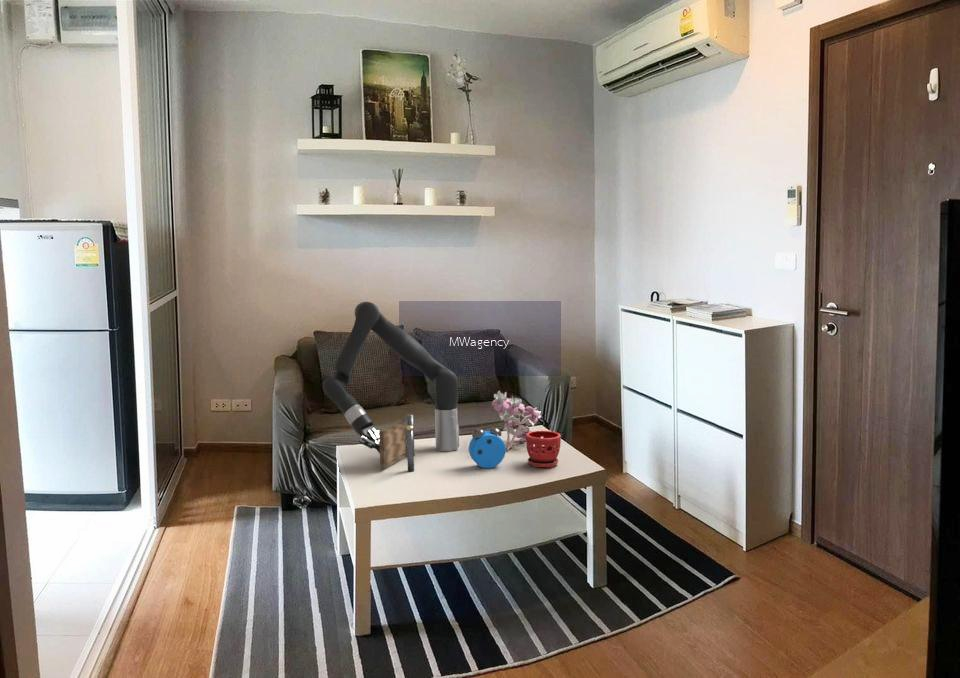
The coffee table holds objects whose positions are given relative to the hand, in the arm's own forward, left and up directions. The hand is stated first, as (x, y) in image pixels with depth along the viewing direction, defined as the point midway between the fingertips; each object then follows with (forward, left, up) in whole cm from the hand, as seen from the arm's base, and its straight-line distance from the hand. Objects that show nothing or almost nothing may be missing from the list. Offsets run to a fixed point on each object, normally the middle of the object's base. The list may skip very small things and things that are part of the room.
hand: (384, 454), depth 270 cm
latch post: (-11, +3, -5) cm, 12 cm away
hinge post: (-6, -15, -5) cm, 17 cm away
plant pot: (-60, -10, -6) cm, 61 cm away
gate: (-3, -5, -4) cm, 7 cm away
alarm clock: (-39, -5, -6) cm, 39 cm away
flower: (-47, -37, -6) cm, 60 cm away
